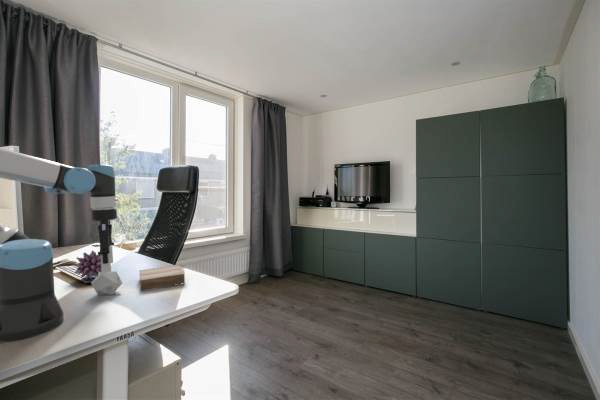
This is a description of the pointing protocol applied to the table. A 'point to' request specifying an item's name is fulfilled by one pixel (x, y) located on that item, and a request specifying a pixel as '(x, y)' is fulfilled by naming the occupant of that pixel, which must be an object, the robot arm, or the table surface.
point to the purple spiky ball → (89, 265)
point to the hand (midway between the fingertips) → (107, 267)
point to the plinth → (161, 277)
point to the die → (106, 283)
